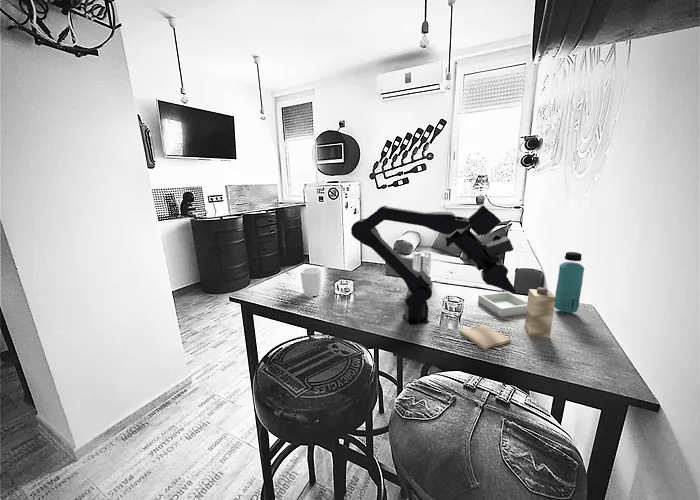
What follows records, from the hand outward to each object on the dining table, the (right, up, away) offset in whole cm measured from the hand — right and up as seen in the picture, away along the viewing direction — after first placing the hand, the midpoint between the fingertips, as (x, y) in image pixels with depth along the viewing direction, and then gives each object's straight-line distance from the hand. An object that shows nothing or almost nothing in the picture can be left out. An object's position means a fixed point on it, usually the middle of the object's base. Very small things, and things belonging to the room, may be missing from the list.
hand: (510, 286), depth 82 cm
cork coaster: (-8, -14, -1) cm, 16 cm away
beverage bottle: (+24, -10, +12) cm, 29 cm away
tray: (+7, -9, +17) cm, 20 cm away
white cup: (-61, -8, +34) cm, 70 cm away
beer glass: (-17, -6, +34) cm, 39 cm away
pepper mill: (+8, -13, +1) cm, 15 cm away
